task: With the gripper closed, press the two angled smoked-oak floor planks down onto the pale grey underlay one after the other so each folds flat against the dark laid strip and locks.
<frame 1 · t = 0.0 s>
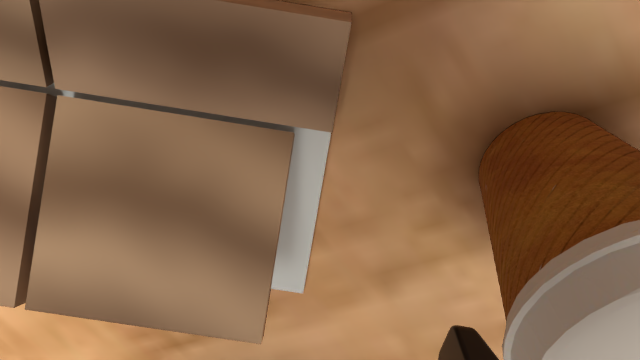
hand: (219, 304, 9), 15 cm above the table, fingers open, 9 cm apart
laid strip: (63, 22, 21), on the table
underlay: (88, 177, 25), on the table
disposable coffee cup: (540, 165, 23), on the table
plank 1: (164, 219, 21), point 4 cm above the table, hinge at 32.0°
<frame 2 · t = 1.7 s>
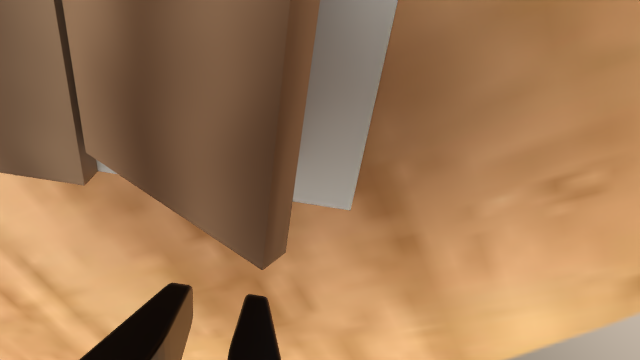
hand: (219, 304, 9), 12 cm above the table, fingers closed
plank 2: (171, 58, 14), point 4 cm above the table, hinge at 32.0°
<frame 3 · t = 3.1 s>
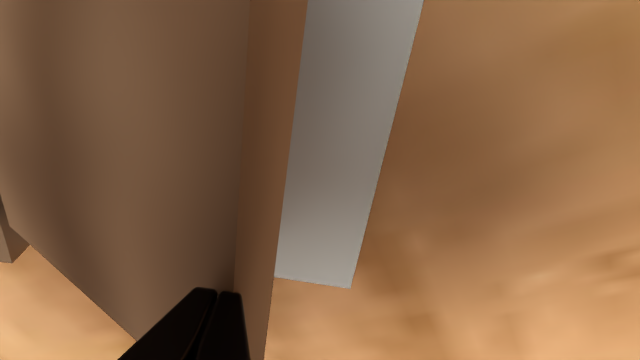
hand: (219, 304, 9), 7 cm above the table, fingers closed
plank 2: (95, 126, 10), point 4 cm above the table, hinge at 32.0°, touching gripper
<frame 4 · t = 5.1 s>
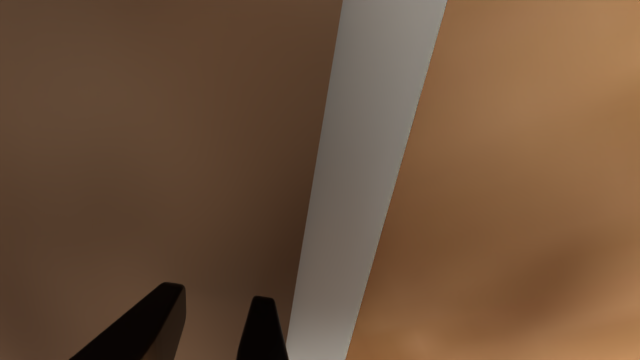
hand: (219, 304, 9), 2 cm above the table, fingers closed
plank 2: (45, 170, 8), point 1 cm above the table, hinge at 1.5°
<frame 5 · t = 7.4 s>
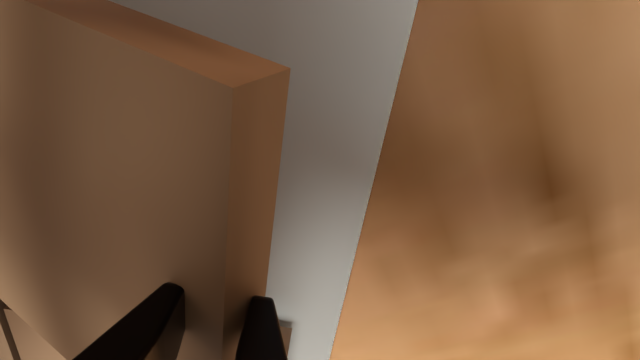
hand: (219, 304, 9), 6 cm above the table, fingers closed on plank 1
underlay: (183, 289, 17), on the table
plank 1: (85, 230, 11), point 4 cm above the table, hinge at 29.6°, touching gripper
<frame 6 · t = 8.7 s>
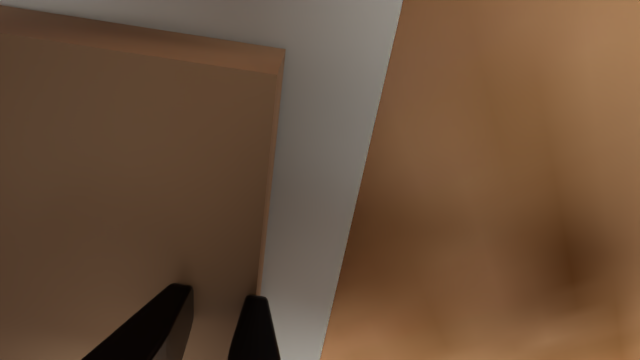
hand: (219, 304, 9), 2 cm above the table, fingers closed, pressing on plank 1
plank 1: (17, 282, 9), point 1 cm above the table, hinge at 0.6°, touching gripper
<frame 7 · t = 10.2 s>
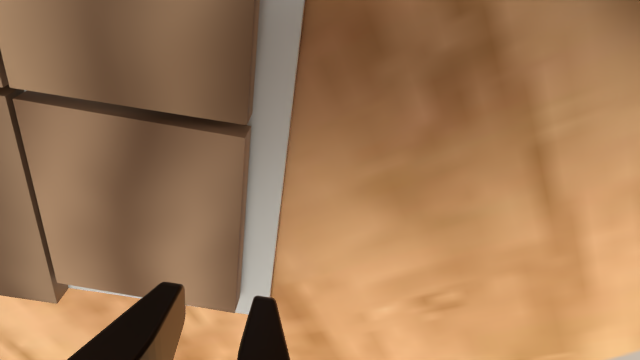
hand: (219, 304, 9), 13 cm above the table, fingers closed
underlay: (161, 98, 21), on the table
plank 2: (143, 212, 23), point 1 cm above the table, hinge at 1.5°
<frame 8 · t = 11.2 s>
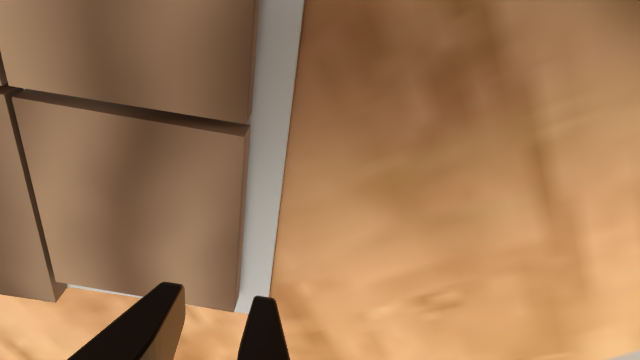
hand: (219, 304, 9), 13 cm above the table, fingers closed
underlay: (160, 97, 21), on the table
plank 2: (142, 211, 23), point 1 cm above the table, hinge at 1.5°
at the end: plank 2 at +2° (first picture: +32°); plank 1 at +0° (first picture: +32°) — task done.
